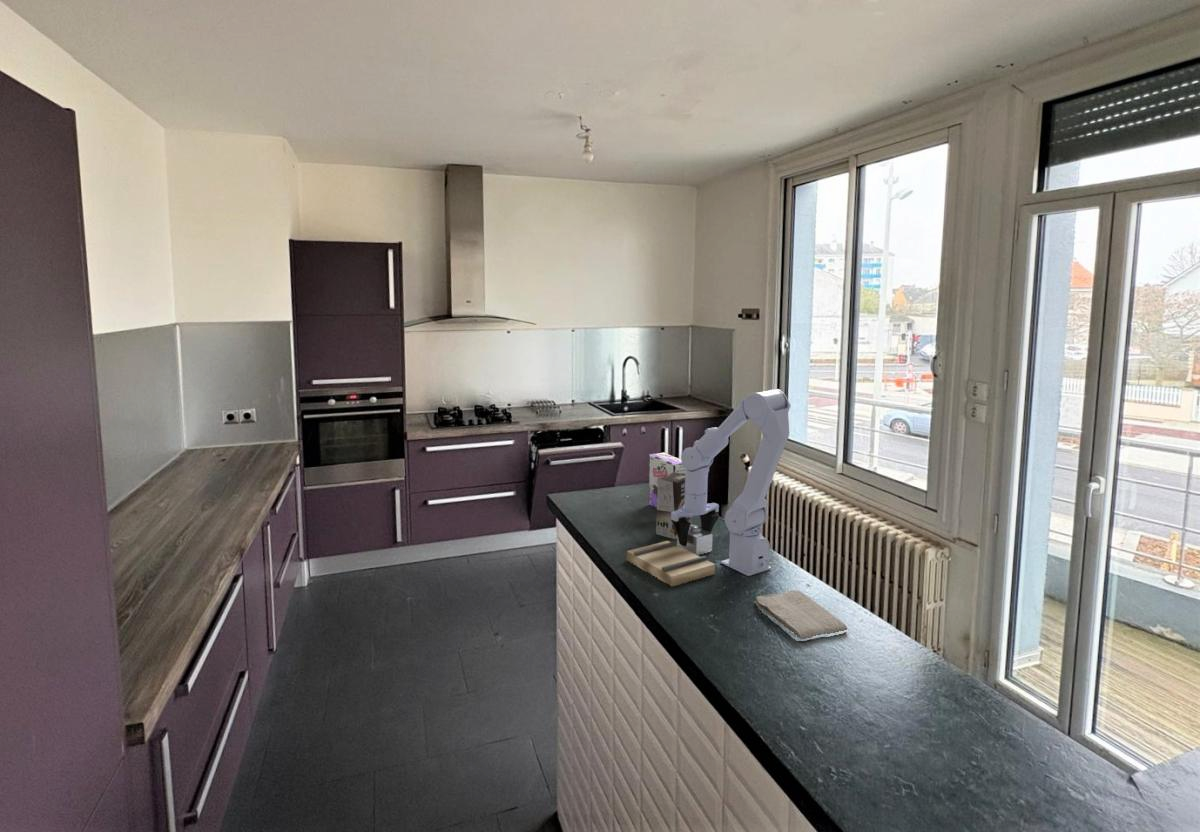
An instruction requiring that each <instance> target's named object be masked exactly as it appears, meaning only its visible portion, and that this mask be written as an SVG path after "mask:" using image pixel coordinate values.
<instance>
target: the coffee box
mask: <svg viewBox="0 0 1200 832" xmlns="http://www.w3.org/2000/svg"><path fill="white" fill-rule="evenodd" d="M684 503H685V474H682V473H675V472H674V473H671V474H669V475H666V476H664V477H661V478H658V492H657V509H656V525H655V526H656V527H655V530H656V531H655V532H656V535H658V536H662V537H666V538H668V539H672V540H677V532H676V529H675V527H674V525H673V523H672V521H671V512H674V511H677V510H679V509H681V508H683V505H684ZM692 519H693V518H692V517H688V518H686V520H687V522H689V523H691V524H692V521H693V520H692Z"/></svg>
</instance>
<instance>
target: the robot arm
mask: <svg viewBox="0 0 1200 832" xmlns="http://www.w3.org/2000/svg"><path fill="white" fill-rule="evenodd" d="M738 403H739V404H738V405H737V406H736V407H735V408H734V410H733V411H732V412H730V414H729V415H728V416H727V417H726V418H725V420H724V421H722V422H721V424H720V425H719V426H718V427H716V426H715V427H709V428H706V429H705V430H704V434H703V436H701V438H700V439H698V440H695V441H694V442H693V446H692V447H691V446H690V447H685V448H684V450H683V451H682V453H681V455H680V459H681V461H682V464H683V466H684V467H685V468H686V470H685V503H684V505H683V508H681V509H679V510H677V511H674V512H671V521H672V523H673V525H674V527H675V529H676V532H677V535H678V539H679V544H680V545H682V546H687V539H688V531H689V527H690V525H692V523H689V522H687V520H686V518H688V517H696V516H699V518H700V527H701V529H703V530H705V531H708V532H710V533H712V531H713V528H714V526H715V524H716V523H717V521H718V520H719V519H720V517H719V513H717V512H719V508H720V505H719V503H716V502H711V503H708V479H709V478H708V477H709V472H710V467H711V466H712V464H713V462H714V458H715V457H716V456H717V455H718V454H720V452H722V450H724V449H725V448H726V447H727V446H728V444H729V437H731V436H732V434H734V433H735V432H736V431H737V430H738V429H740V428H741V427H742V426H743V425H744V424H745V423H747V422H748V421H751V422H752V423H753V424H754V426H755V427H756V429H758V430H759V432H760V433H761V434H762V437H761V441H760V444H759V447H758V449H757V451H756V454H755V457H754V460H753V462H752V465H751V467H750V470H749V473H748V475H747V478H746V482H745V484H744V487H743V490H742V491H741V493H740V495H738V497H737V498H736V499H734V501H733V502H732V505H731V506H730V508H729V509H728V510H726V512H725V515H724V522H725V525H726V528H727V529H728V532H729V552H728V553H729V554H728V558H727V559H723V560H721V561H720V563H721V564H722V565H724V566H727V567H728V568H731V569H732V570H735V571H737V572H739V573H741V574H743V575H744V576H748V577H749V576H752V575H756V574H759V573H763V572H766V571H769V570H772V567H771V566H770V555H771V554H770V552H771V551H770V550H771V545H770V542H769V540H768V539H767V538H766V537H764V536H763V534H762V532H761V530H762V525H763V524H765V523H766V521H767V519H768V517H767V516H768V512H767V508H768V506H769V502H768V501H767V499H766V496H767V494H768V491H769V488H770V486H771V483H772V481H773V478H774V475H775V473H776V470H777V467H778V465H779V462H780V460H781V458H782V455H783V452H784V450H785V448H786V444H787V442H788V440H789V436H790V421H789V411H790V409H791V403H790V401H789V399H788V398H787V396H786V394H785V392H784V391H782V390H781V389H779V388H771V389H769V390H765V391H760V392H751V393H749V394H748V395H746V396H745V398H743V399H742V400H740V401H739V402H738Z"/></svg>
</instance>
